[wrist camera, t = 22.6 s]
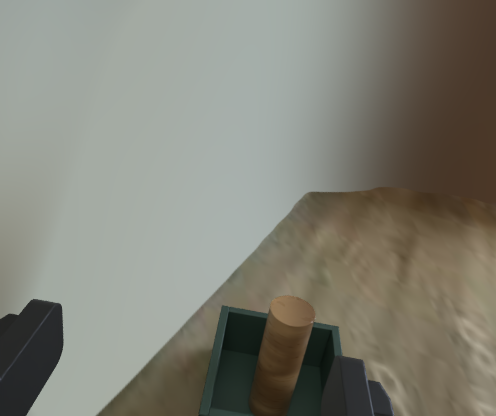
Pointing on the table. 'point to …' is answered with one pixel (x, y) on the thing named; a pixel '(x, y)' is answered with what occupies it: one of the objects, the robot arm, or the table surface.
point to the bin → (245, 360)
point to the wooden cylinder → (281, 355)
